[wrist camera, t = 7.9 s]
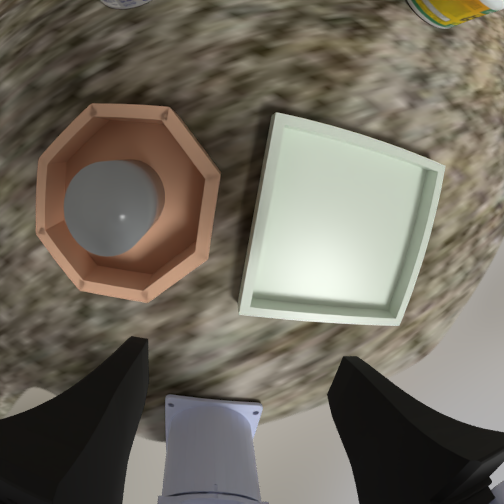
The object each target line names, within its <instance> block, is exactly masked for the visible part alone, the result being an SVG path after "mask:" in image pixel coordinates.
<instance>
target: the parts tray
mask: <svg viewBox="0 0 504 504" xmlns="http://www.w3.org/2000/svg"><path fill="white" fill-rule="evenodd" d="M444 171H445V165H442V164H440V163H438V162H435V161H433V160H430V159H428V158H426V157H423V156H421V155H418V154H416V153H413V152H410V151H408V150H405V149H402V148H400V147H397V146H394V145H391V144H389V143H386V142H383V141H380V140H377V139H374V138H371V137H368V136H365V135H362V134H358V133H355V132H352V131H349V130H345V129H342V128H338V127H335V126H331V125H327V124H324V123H320V122H316V121H312V120H308V119H304V118H300V117H296V116H291V115H287V114H282V113H277V112H276V113H274V114H273V115H272V116H271V122H270V127H269V132H268V138H267V143H266V149H265V154H264V160H263V165H262V170H261V176H260V181H259V187H258V192H257V198H256V203H255V209H254V214H253V220H252V225H251V231H250V237H249V242H248V248H247V253H246V259H245V264H244V270H243V276H242V281H241V287H240V292H239V298H238V312H239V315H247V316H256V317H266V318H277V319H288V320H300V321H313V322H327V323H343V324H363V325H389V326H399V325H400V323H401V320H402V318H403V315H404V313H405V310H406V308H407V305H408V302H409V300H410V297H411V294H412V291H413V288H414V286H415V283H416V280H417V277H418V274H419V271H420V268H421V264H422V261H423V258H424V255H425V251H426V248H427V244H428V241H429V237H430V234H431V230H432V226H433V222H434V218H435V214H436V210H437V206H438V201H439V197H440V192H441V187H442V182H443V177H444Z"/></svg>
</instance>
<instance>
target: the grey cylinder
mask: <svg viewBox="0 0 504 504" xmlns="http://www.w3.org/2000/svg"><path fill="white" fill-rule="evenodd" d="M164 204H165V190H164V186H163V183H162V181H161V179H160V177H159V175H158V174H157V172H156V171H155V170H154V169H153V168H152V167H151V166H149V165H148V164H146V163H144V162H142V161H139V160H134V159H124V160H112V161H102V162H96V163H93V164H90V165H88V166H86V167H84V168H83V169H81V170H80V171H79V172H78V173H77V174H76V175H75V176H74V177H73V179H72V180H71V182H70V184H69V186H68V188H67V191H66V194H65V198H64V216H65V221H66V224H67V227H68V229H69V231H70V233H71V235H72V236H73V238H74V239H75V240H76V242H77V243H78V244H79V245H80V246H82V247H83V248H84V249H86V250H87V251H89V252H91V253H93V254H96V255H100V256H116V255H120V254H122V253H125V252H126V251H128V250H130V249H131V248H132V247H133V246H134V245H135V244H137V242H138V241H139V240H140V239H141V238H142V237H143V236H144V235H145V234H146V233H147V232H148V231H149V229H150V228H151V227H152V226H153V225H154V224H155V223H156V222H157V221H158V219H159V218H160V216H161V214H162V211H163V208H164Z"/></svg>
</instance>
